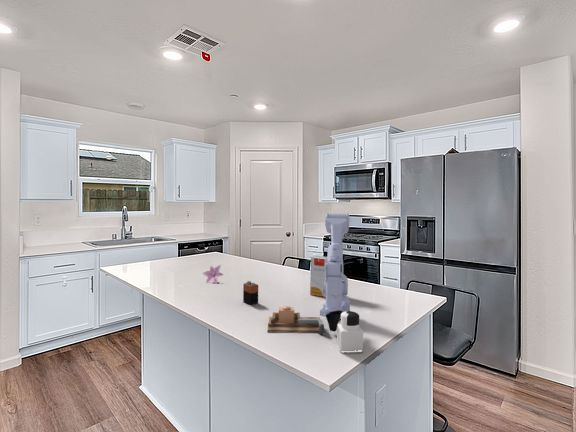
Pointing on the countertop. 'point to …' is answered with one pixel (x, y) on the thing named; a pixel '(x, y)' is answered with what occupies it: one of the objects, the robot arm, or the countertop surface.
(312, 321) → the gate
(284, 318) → the block with dome
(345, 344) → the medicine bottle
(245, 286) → the battery
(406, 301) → the countertop surface
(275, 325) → the housing
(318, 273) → the hard drive box
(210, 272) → the lily
